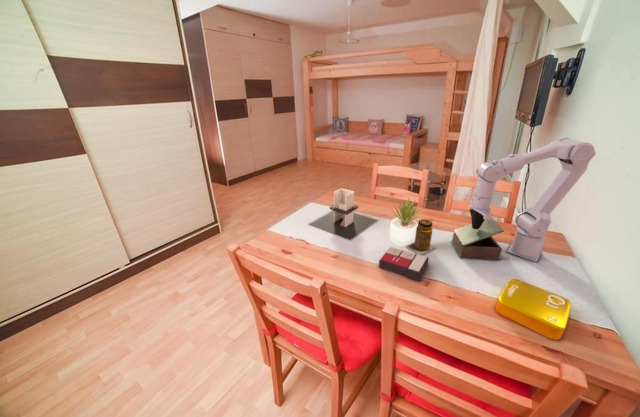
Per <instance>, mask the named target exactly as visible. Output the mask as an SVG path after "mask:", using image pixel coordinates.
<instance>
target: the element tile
mask: <svg viewBox="0 0 640 417" xmlns="http://www.w3.org/2000/svg"><path fill="white" fill-rule="evenodd" d="M571 310H572V302H571V301H570V300H569V299H568V298H566V297H564V296H562V295H559V294H557V293H554V292H551V291H549V290H546V289H544V288H540V287H538V286H536V285H533V284H531V283H528V282H526V281H523V280H520V279H517V278H511V279H509V280H508V281H507V283H506V285H505V286H504V288H503V290H502V292H501V294H500V295H499V297H498V299H497V302H496V306H495V311H496V313H498V314H499V315H501V316H502V317H505V318H507V319H509V320H510V321H513V322H515V323H517V324H520V325H522V326H524V327H525V328H527V329H530V330H532V331H534V332H536V333H538V334H540V335H542V336H544V337H546V338H548V339H552V340H555V341H556V340H561V338H562V336H563V334H564V332H565V331H566V328H567V324H568V320H569V317H570V314H571Z"/></svg>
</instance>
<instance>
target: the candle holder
mask: <svg viewBox="0 0 640 417" xmlns="http://www.w3.org/2000/svg"><path fill="white" fill-rule="evenodd" d="M357 209H359V205H357V204H355V191H354V190H350V189H346V188H339V189H336V190H335V191H333V204H332V205H330V206H329V210H331V211H330V212H329V213H326V214H325V215H323V216H321V217H320V218H317V219H316V220H314V221H313V222H310V223H309V225H310V226H313V227H315V228H318V229H320V230H323V231H326V232H327V233H331V234H333V235H336V236H338V237H341V238H344V239H347V240H349V241H351V240H352V239H354V238H355V237H357V236H358V235H359V234H361V233H363V231H365V230H366V229H367V228H369V227H370V226H371V225H373V224H374V223H375V222H377V221H378V219H375V218H372V217H370V216H369V217H368V216H365V215H362V214H360V213H356V212H355V211H356V210H357Z"/></svg>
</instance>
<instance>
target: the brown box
mask: <svg viewBox="0 0 640 417" xmlns="http://www.w3.org/2000/svg"><path fill="white" fill-rule="evenodd" d="M451 243H452V246H453V247H454V249H455V251H456V253H457V254H458V257H459V259H469V260H471V259H474V260H485V261H486V260H487V261H499V260H500V257H501V253H502V250H503V248H502V247H501V246H500V244H499V243H498V242H497V241H496V240H495V238H494V237H493V236H490V237H488V238H485V239H482V240H479V241H477V242H474V243H471V244H468V245H466V246H463V245H462V243H461V242H460V240H459V238H458V237H457V235H456V233H455V232H454V231H453V235H452V240H451Z"/></svg>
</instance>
